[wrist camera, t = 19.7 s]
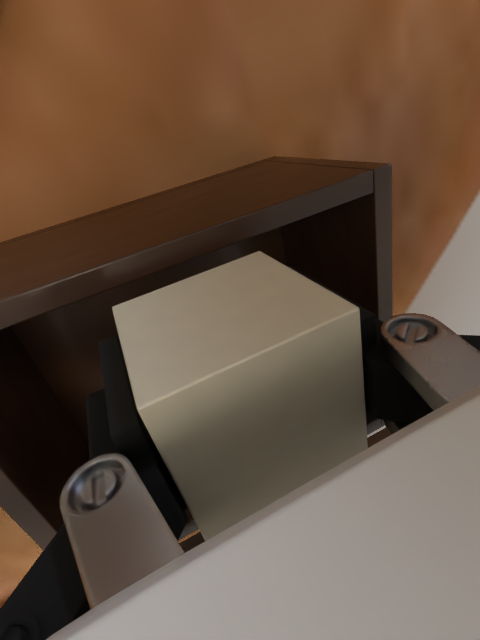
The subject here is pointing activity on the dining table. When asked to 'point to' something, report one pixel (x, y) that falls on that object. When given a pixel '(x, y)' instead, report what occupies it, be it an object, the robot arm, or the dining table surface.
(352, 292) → the chest
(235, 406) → the block
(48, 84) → the dining table surface
